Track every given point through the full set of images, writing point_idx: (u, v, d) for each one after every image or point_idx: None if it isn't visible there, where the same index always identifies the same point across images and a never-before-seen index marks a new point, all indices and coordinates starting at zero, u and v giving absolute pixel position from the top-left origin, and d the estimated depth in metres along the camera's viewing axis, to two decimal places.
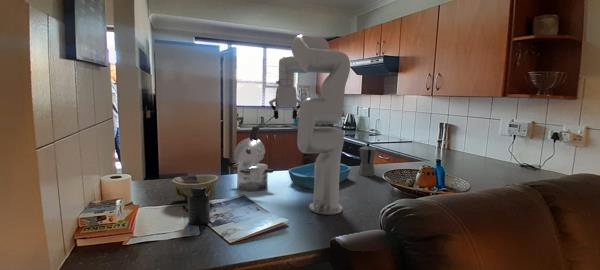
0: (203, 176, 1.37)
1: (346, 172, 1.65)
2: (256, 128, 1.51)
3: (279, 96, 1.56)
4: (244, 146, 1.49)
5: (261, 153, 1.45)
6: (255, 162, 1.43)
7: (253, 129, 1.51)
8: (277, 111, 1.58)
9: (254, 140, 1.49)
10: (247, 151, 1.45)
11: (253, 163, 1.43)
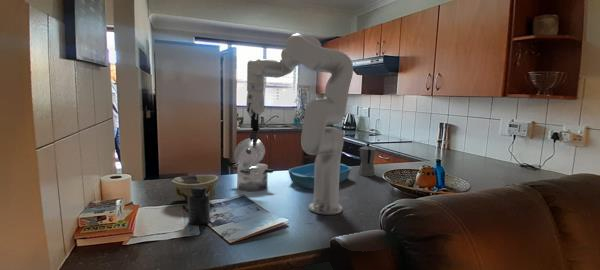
0: (203, 176, 1.37)
1: (346, 172, 1.65)
2: (256, 128, 1.52)
3: (255, 102, 1.45)
4: (245, 146, 1.49)
5: (261, 153, 1.45)
6: (255, 162, 1.43)
7: (253, 129, 1.52)
8: (257, 120, 1.50)
9: (254, 140, 1.49)
10: (247, 151, 1.46)
11: (253, 163, 1.43)
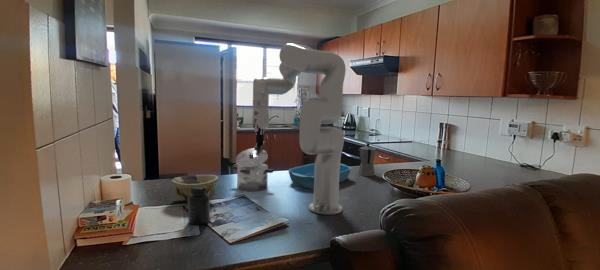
0: (203, 176, 1.37)
1: (346, 172, 1.65)
2: None
3: (261, 118, 1.52)
4: (248, 152, 1.53)
5: (264, 158, 1.48)
6: (256, 163, 1.45)
7: None
8: (262, 135, 1.57)
9: (258, 149, 1.54)
10: (250, 155, 1.49)
11: (254, 164, 1.44)
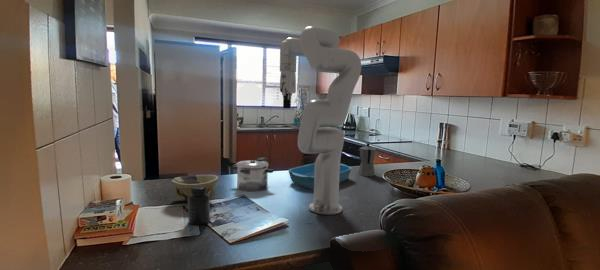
0: (203, 176, 1.37)
1: (346, 172, 1.65)
2: None
3: (289, 81, 1.47)
4: (249, 161, 1.55)
5: (264, 164, 1.49)
6: (257, 166, 1.45)
7: (261, 157, 1.62)
8: (289, 100, 1.52)
9: (260, 161, 1.57)
10: (252, 160, 1.51)
11: (255, 166, 1.45)
